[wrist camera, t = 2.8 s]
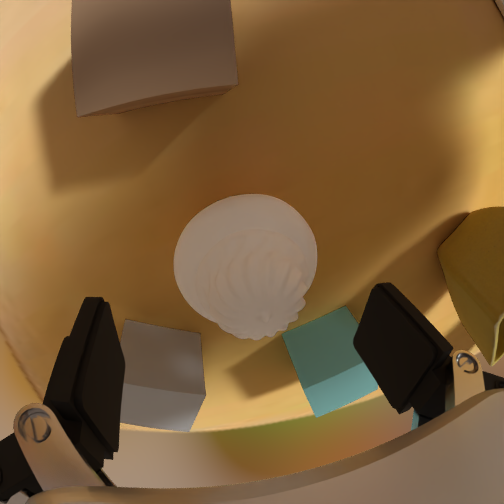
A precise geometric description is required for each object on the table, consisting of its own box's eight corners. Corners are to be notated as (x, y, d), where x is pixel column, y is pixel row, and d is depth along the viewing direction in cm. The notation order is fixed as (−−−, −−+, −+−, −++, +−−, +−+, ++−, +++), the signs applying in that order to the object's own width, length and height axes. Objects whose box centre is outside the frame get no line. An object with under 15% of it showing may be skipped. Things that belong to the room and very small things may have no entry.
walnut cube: (110, 22, 8) (73, -13, 4) (214, 3, 9) (225, -45, 5) (118, 113, 11) (77, 117, 7) (223, 94, 12) (238, 84, 7)
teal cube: (281, 333, 19) (302, 389, 15) (345, 304, 19) (378, 354, 15) (296, 368, 22) (316, 417, 18) (351, 344, 22) (377, 389, 18)
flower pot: (412, 248, 18) (497, 325, 10) (477, 178, 16) (563, 226, 9) (434, 305, 22) (490, 369, 14) (489, 246, 21) (549, 294, 13)
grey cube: (125, 318, 16) (113, 380, 12) (200, 332, 18) (206, 395, 14) (122, 365, 18) (114, 421, 14) (185, 376, 20) (189, 431, 16)
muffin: (268, 288, 17) (306, 380, 11) (166, 269, 15) (158, 370, 9) (308, 193, 15) (383, 257, 9) (194, 159, 13) (194, 208, 7)
